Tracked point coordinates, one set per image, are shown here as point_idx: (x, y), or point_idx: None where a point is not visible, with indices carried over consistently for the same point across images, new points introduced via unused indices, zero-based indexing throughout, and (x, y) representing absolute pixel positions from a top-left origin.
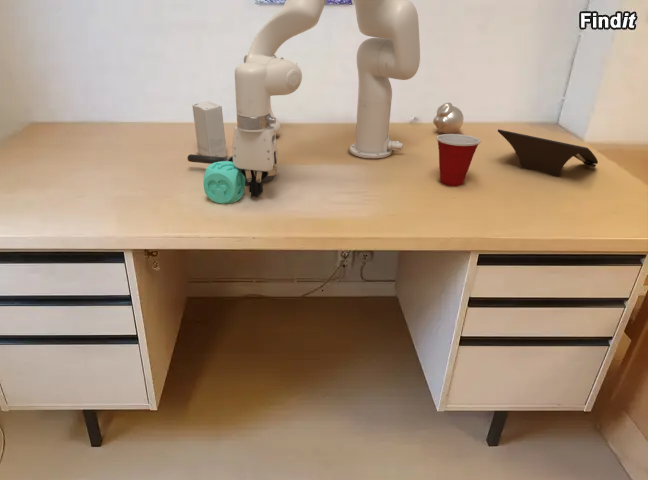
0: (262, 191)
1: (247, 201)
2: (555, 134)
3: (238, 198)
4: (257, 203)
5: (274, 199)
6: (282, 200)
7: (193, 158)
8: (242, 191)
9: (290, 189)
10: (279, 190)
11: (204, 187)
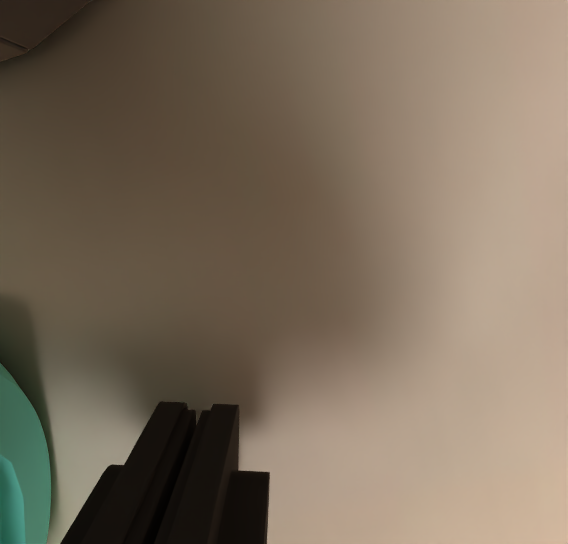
0: (269, 479)
1: None
2: None
3: (44, 540)
4: None
5: (396, 391)
6: (487, 397)
7: None
8: (10, 437)
9: (545, 59)
10: (403, 130)
11: None
